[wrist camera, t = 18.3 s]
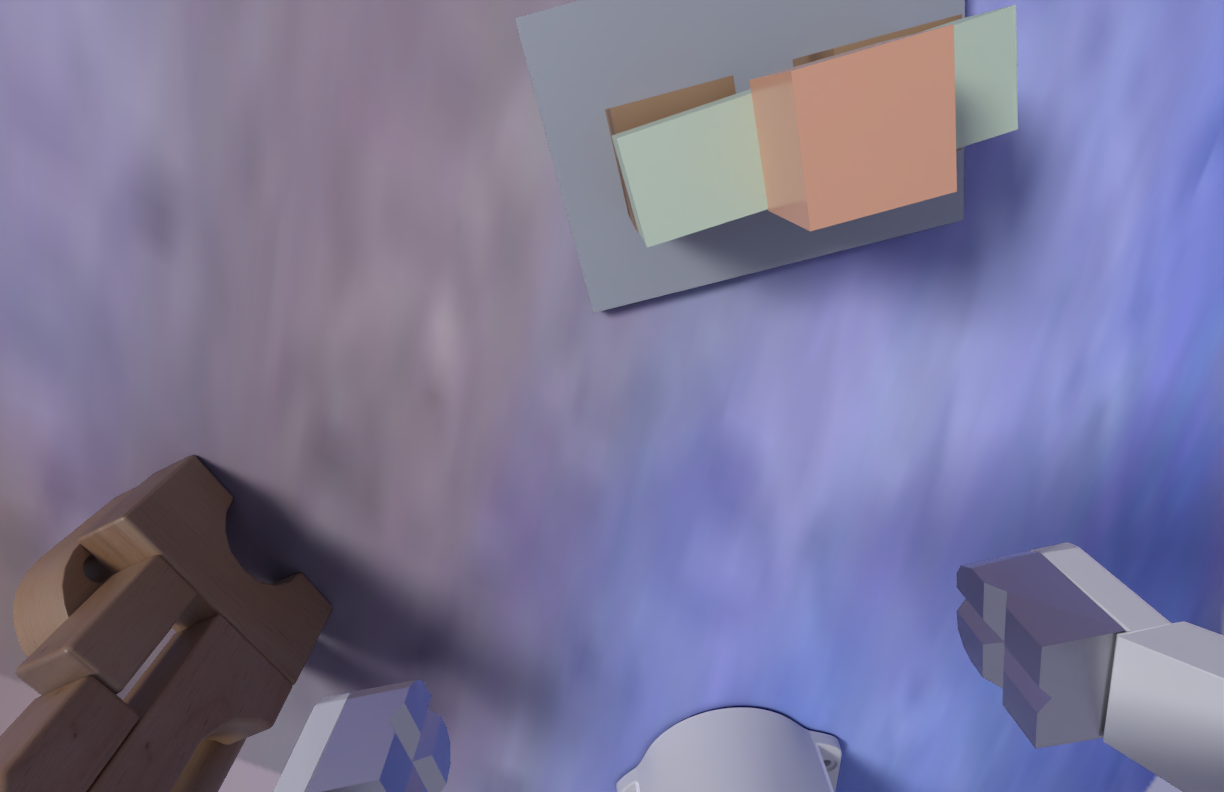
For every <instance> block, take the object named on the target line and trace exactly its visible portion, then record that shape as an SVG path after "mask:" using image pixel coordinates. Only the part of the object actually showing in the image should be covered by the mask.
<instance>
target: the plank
mask: <svg viewBox="0 0 1224 792" xmlns="http://www.w3.org/2000/svg"><path fill="white" fill-rule="evenodd" d="M951 24H954V61H955V115H956V149H958V148H961V147H964V146H967V145H970V144H974V143H977V142H980V141H983V140H986V139H989V138H992V137H996V136H999V135H1002V134H1005V133H1008V132H1011V131H1014V130H1017V129H1018V98H1017V39H1016V5H1013V6H1009V7H1005V8H1001V9H997V10H993V11H989V12H985V13H982V14H978V15H974V16H970V17H966V18H962V19H958V20H955V21H952V22H949V23H946V24H943V25H940V26H937V27H934V28H931V29H935V28H939V27H943V26H947V25H951ZM931 29H928V30H931ZM925 31H927V30H925ZM922 32H923V31H922ZM612 139H613V143H614V147H615V150H616V154H617V157H618V161H619V164H620V168H621V171H622V175H623V178H624V182H625V185H626V189H627V193H628V196H629V200H630V203H631V207H632V210H633V214H634V217H635V221H636V224H637V228H638V232H639V234H640V235H641V237H642V239H643V241H644V243H645V245H646V247H647V248H648V247H651V246H654V245H657V244H660V243H663V242H667V241H670V240H673V239H676V238H679V237H682V236H685V235H688V234H692V233H695V232H698V231H701V230H704V229H707V228H710V227H714V226H717V225H720V224H723V223H726V222H729V221H732V220H735V219H739V218H742V217H745V216H748V215H751V214H754V213H757V212H761V211H764V210H767V209H768V204H767V197H766V190H765V184H764V177H763V170H762V163H761V156H760V150H759V143H758V136H757V129H756V122H755V116H754V109H753V102H752V95H751V89H749V90H746V91H743V92H740V93H737V94H734V95H731V96H728V97H725V98H722V99H719V100H716V101H713V102H710V103H707V104H704V105H701V106H698V107H695V108H692V109H689V110H686V111H683V112H681V113H678V114H675V115H672V116H669V117H666V118H663V119H660V120H657V121H654V122H651V123H648V124H645V125H642V126H639V127H636V128H633V129H630V130H627V131H624V132H621V133H618V134H615V135H612Z"/></svg>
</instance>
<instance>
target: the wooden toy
mask: <svg viewBox="0 0 1224 792" xmlns="http://www.w3.org/2000/svg"><path fill="white" fill-rule="evenodd" d="M232 501H233V497H232V495H231V494H230V493H229V492H228V491H227V490H226V489H225V488H224V486H223V485H222V484H221V483H220V482H219V481H218V480H217V479H216V478H215V477H214V475H213V474H212V473H211V472H210V471H209V470H208V469H207V468H206V467H205V466H204V464H203V463H202V462H201V461H200V460H199V459H198V458H197V457H196V456H194V455H192V456H189V457H186V458H184V459H182V460H180V461H178V462H176V463H174V464H172V465H170V466H168V467H166V468H164V469H162V470H160V471H158V472H156V473H154V474H152V475H151V476H150V477H149V478H148V479H146V480H145V481H144V482H143V483H142V484H141V485H139V486H138V487H136V488H134V489H132V490H130V491H128V492H126V493H124V494H122V495H120V496H118V497H116V498H114V499H113V500H111V501H110V502H109V503H108V504H106V505H105V506H104V507H103V508H102V509H100V510H99V511H98V512H97V513H95V514H94V515H93V516H92V517H90V518H89V519H88V520H87V521H85V522H84V523H83V524H82V525H80V526H79V527H78V528H77V529H76V530H74V531H73V532H72V533H71V534H69V535H68V536H67V537H66V538H64V539H63V540H62V541H61V542H60V543H58V544H57V545H56V546H55V547H53V548H52V549H51V550H50V551H48V552H47V553H46V554H45V555H44V556H42V557H41V558H40V559H39V560H38V561H37V562H36V563H35V564H34V565H33V566H32V567H31V568H30V569H29V570H28V571H27V572H26V574H25V575H24V577H23V579H22V581H21V583H20V585H19V587H18V588H17V590H16V595H15V600H14V605H13V616H14V626H15V630H16V634H17V637H18V640H19V643H20V645H21V648H22V650H23V652H24V653H25V654H26V656H27V657H28V658H27V659H26V660H25V661H24V662H23V663H22V664H21V665H20V666H19V667H18V669H17V671H16V675H17V677H18V678H20V679H21V680H22V681H24V682H25V683H26V684H28V685H29V686H30V687H31V688H33V689H34V690H35V691H37V692H38V693H39V694H41V695H42V696H40V697H38V698H36V699H35V700H34V701H33V702H32V703H31V704H30V705H29V706H28V707H27V708H26V709H25V710H24V711H23V712H22V714H21V715H20V716H19V717H18V718H17V719H16V720H15V721H14V722H13V723H12V724H11V725H10V726H9V727H8V729H7V730H6V731H5V732H4V733H3V734H2V735H1V736H0V792H218V791H219V789H220V787H221V785H222V783H223V781H224V779H225V778H226V776H227V774H228V772H229V770H230V768H231V766H232V764H233V763H234V761H235V759H236V757H237V755H238V753H239V751H240V749H241V747H242V746H243V744H244V742H245V740H246V738H247V737H250V736H252V735H255V734H257V733H259V732H262V731H264V730H267V729H269V728H271V727H272V726H273V724H274V723H275V721H276V719H277V717H278V715H279V713H280V711H281V709H282V707H283V705H284V703H285V701H286V699H287V697H288V695H289V693H290V691H291V689H292V685H294V684H295V683H296V681H297V679H298V677H299V675H300V673H301V671H302V669H303V667H304V665H305V663H306V661H307V659H308V657H309V655H310V653H311V651H312V649H313V647H314V645H315V643H316V641H317V639H318V637H319V635H320V633H321V631H322V629H323V627H324V625H325V623H326V621H327V619H328V617H329V615H330V613H331V611H332V606H331V604H330V603H329V602H328V601H327V600H326V599H325V598H324V597H323V596H322V595H321V593H320V592H319V591H318V590H317V589H316V588H315V587H314V586H313V585H312V584H311V582H310V581H309V580H308V579H307V578H306V577H305V576H304V575H303V574H302V573H296V574H294V575H292V576H290V577H287V578H285V579H283V580H281V581H278V582H276V583H274V584H272V585H271V584H267V583H262V582H260V581H258V580H257V579H256V578H254V577H253V576H252V575H250V574H249V573H248V572H246V571H245V570H244V569H243V568H242V566H241V565H240V564H239V562H238V561H237V559H236V558H235V556H234V555H233V554H232V552H231V549H230V546H229V542H228V539H227V535H226V532H225V530H226V512H227V510H228V508H229V506H230V504H231V502H232ZM171 628H172V629H174V630H175V631H176V632H177V633H175V634H174V635H173V637H172V638H171V639H170V641H169V642H168V643H167V644H166V646H165V647H164V648H163V649H162V651H161V652H160V653H159V655H158V656H157V657H156V658H155V660H154V661H153V662H152V664H151V665H150V666H149V667H148V669H147V670H146V671H145V673H144V674H143V675H142V676H141V678H140V679H139V680H138V682H137V683H136V684H135V685H134V687H133V688H132V689H131V691H130V692H129V693H128V694H127V696H126V697H125V698H124V700H122V699H120V698H119V697H118V696H117V695H115V694H117V693H119V692H121V691H122V690H123V688H124V687H125V686H126V685H127V683H128V682H129V681H130V679H131V678H132V677H133V676H134V674H135V673H136V672H137V671H138V669H139V668H140V667H141V666H142V664H143V663H144V662H145V661H146V659H147V658H148V657H149V656H150V654H151V653H152V652H153V651H154V649H155V648H156V647H157V645H158V644H159V643H160V642H161V640H162V639H163V638H164V637H165V635H166V634H167V633H168V632H169V630H170V629H171Z"/></svg>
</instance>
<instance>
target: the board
mask: <svg viewBox="0 0 1224 792" xmlns="http://www.w3.org/2000/svg"><path fill="white" fill-rule="evenodd" d="M960 14H962V18H965V0H579V1H576V2H572V3H568V4H565V5H561V6H558V7H554V8H550V9H547V10H543V11H540V12H536V13H532V14H529V15H525V16H522V17H518V18H515V21H516V24H517V28H518V32H519V36H520V39H521V43H522V47H523V51H524V54H525V58H526V62H527V66H528V69H529V73H530V77H531V81H532V85H533V88H534V92H535V96H536V100H537V103H538V107H539V111H540V115H541V118H542V122H543V126H544V130H545V133H546V137H547V141H548V145H549V148H550V152H551V156H552V160H553V164H554V167H555V171H556V175H557V179H558V182H559V186H560V190H561V194H562V197H563V201H564V205H565V209H566V212H567V216H568V220H569V224H570V227H571V231H572V235H573V239H574V243H575V246H576V250H577V254H578V258H579V261H580V265H581V269H582V273H583V276H584V280H585V284H586V288H587V291H588V295H589V299H590V303H591V306H592V310H593V313H595V312H599V311H603V310H607V309H611V308H615V307H619V306H623V305H627V304H631V303H635V302H639V301H643V300H647V299H651V298H655V297H659V296H663V295H667V294H671V293H675V292H679V291H683V290H687V289H691V288H695V287H699V286H703V285H707V284H711V283H715V282H719V281H723V280H727V279H731V278H735V277H739V276H743V275H747V274H751V273H755V272H759V271H763V270H767V269H771V268H775V267H779V266H783V265H787V264H791V263H795V262H799V261H803V260H807V259H811V258H815V257H819V256H823V255H827V254H831V253H835V252H839V251H843V250H847V249H851V248H855V247H859V246H863V245H867V244H871V243H875V242H879V241H883V240H887V239H891V238H895V237H899V236H903V235H907V234H911V233H915V232H919V231H923V230H927V229H931V228H934V227H938V226H942V225H946V224H950V223H954V222H958V221H962V220H964V147H962V150H958V151H956V169H957V192H953V193H950V194H946V195H942V196H939V197H935V198H931V199H928V200H924V201H920V202H917V203H913V204H909V205H906V206H902V207H898V208H895V209H891V210H887V211H884V212H880V213H876V214H873V215H869V216H865V217H862V218H858V219H854V220H851V221H847V222H843V223H840V224H836V225H832V226H829V227H825V228H821V229H818V230H814V231H808V230H806V229H804V228H802V227H800V226H798V225H796V224H794V223H792V222H790V221H788V220H786V219H784V218H782V217H780V216H778V215H776V214H774V213H772V212H770V211H768V209H767V210H764V211H761V212H757V213H754V214H751V215H748V216H745V217H742V218H739V219H735V220H732V221H729V222H726V223H723V224H720V225H717V226H714V227H710V228H707V229H704V230H701V231H698V232H695V233H692V234H688V235H685V236H682V237H679V238H676V239H673V240H670V241H667V242H663V243H660V244H657V245H654V246H651V247H648V248H647V247H646V245H645V243H644V241H643V239H642V237H641V235H640V234H639V232H638V233H637V231H636V229H635V227H634V225H633V223H632V221H631V219H630V217H629V215H628V211H627V207H626V202H625V198H624V193H623V189H622V184H621V180H620V175H619V171H618V166H617V162H616V157H615V153H614V148H613V144H612V140H611V135H610V131H609V126H608V122H607V117H606V113H605V109H609V108H613V107H616V106H620V105H624V104H628V103H631V102H635V101H639V100H642V99H646V98H650V97H654V96H657V95H661V94H665V93H669V92H672V91H676V90H680V89H683V88H687V87H691V86H695V85H698V84H702V83H706V82H710V81H713V80H717V79H721V78H725V77H728V76H732V75H733V77H734V84H735V91H736V94H737V93H740V92H743V91H746V90H749V89H750V82H749V80H751V79H754V78H758V77H761V76H765V75H768V74H771V73H775V72H778V71H782V70H785V69H789V68H792V67H793V59H796V58H800V57H803V56H807V55H811V54H814V53H818V52H822V51H826V50H829V49H833V48H837V47H840V46H844V45H848V44H852V43H855V42H859V41H863V40H867V39H870V38H874V37H878V36H881V35H885V34H889V33H893V32H896V31H900V30H904V29H908V28H911V27H915V26H919V25H923V24H926V23H930V22H934V21H938V20H941V19H945V18H949V17H952V16H956V15H960Z"/></svg>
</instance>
